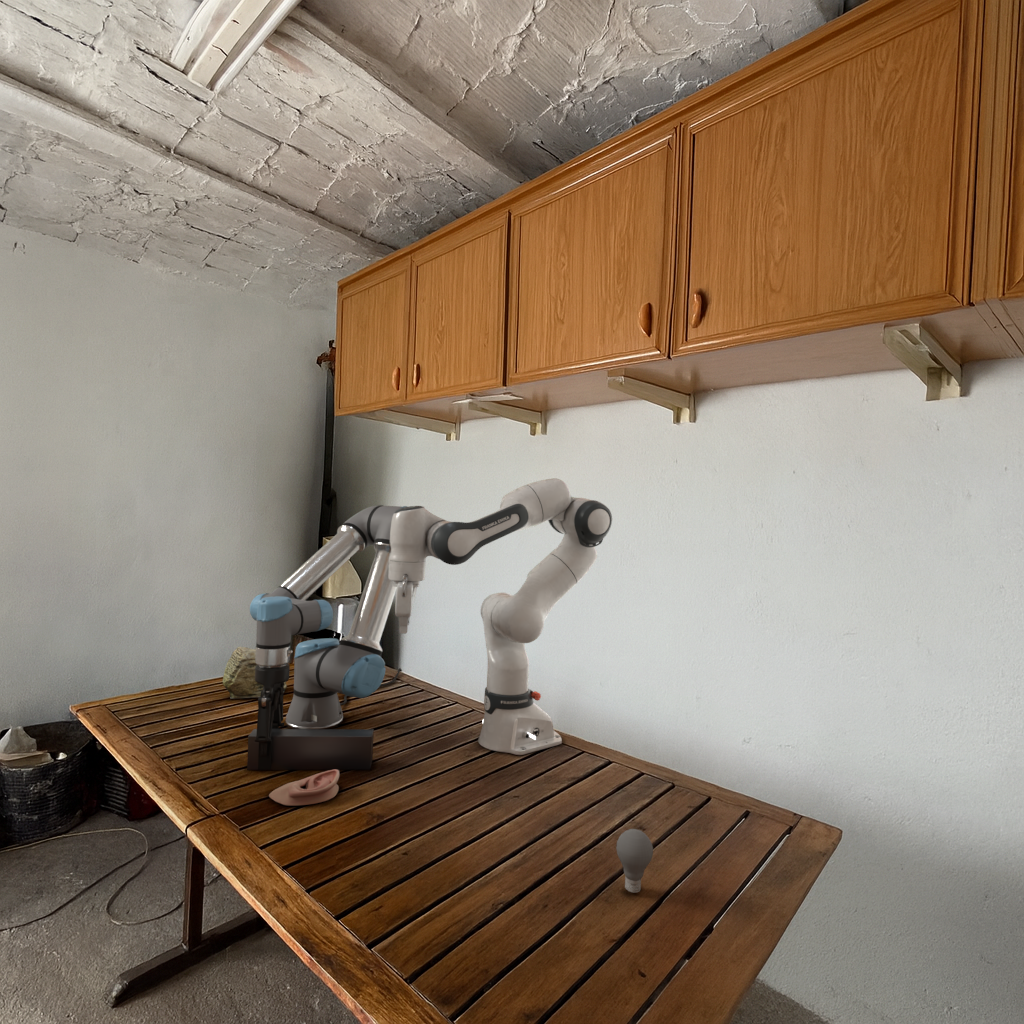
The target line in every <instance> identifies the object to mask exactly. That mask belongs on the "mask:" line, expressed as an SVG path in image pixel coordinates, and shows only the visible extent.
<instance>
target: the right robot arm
mask: <svg viewBox="0 0 1024 1024" xmlns="http://www.w3.org/2000/svg"><path fill="white" fill-rule="evenodd" d="M402 507H403V506H402ZM546 522H548V523H549V525H550V526H551V528H552V529H553V530H554V531H555V532H557V533H559V534H562V535H563V537H562V539H561V541H560V543H559V544H558V546H557V547H556V548H554V549H553V550H552V551H550V552H549V554H547V555H546V556H545V557H544V558H543V559H542V560H541V561H540V562H538V563H537V564H536V565H535V566H534V567H533V568H532V569H531V570H530V571H528V572H527V574H526V575H527V576H526V579H525V581H524V582H523V584H522V585H521V587H520V588H519V589H518V591H517V592H516V593H514V594H511V593H508V592H496V593H495V592H494V593H491V594H489V595H488V596H486V597H485V598H484V599H483V601H482V603H481V605H480V616H481V619H482V623H483V631H484V640H485V648H486V656H487V657H486V659H487V668H486V687H485V688H484V698H483V709H484V715H483V719H482V725H481V730H480V733H479V736H478V739H477V743H478V744H479V745H480V746H481V747H482V748H485V749H487V750H489V751H494V752H500V753H509V754H513V755H517V756H523V755H527V754H530V753H534V752H538V751H541V750H545V749H548V748H552V747H555V746H559V745H561V744H563V739H562V736H561V735H560V734H559V733H558V732H556V730H555V729H554V723H553V719H552V717H551V716H550V715H549V714H548V713H547V712H546V711H545V710H543V709H542V708H541V707H540V706H539V705H537V703H535V702H534V700H535V701H540V699H541V698H542V695H541V693H540V692H538V691H535V690H532V689H530V688H529V675H530V659H529V656H528V653H527V649H526V645H525V644H530V643H533V642H534V641H536V640H537V639H538V638H539V637H540V636H541V634H542V632H543V631H544V625H545V621H546V619H547V618H548V616H549V614H550V613H551V611H552V610H553V609H554V607H555V606H556V604H557V603H558V602H559V601H561V599H562V598H564V597H565V596H566V595H567V594H568V593H569V592H570V590H572V589H573V588H574V587H575V586H576V585H577V584H578V583H579V582H580V581H581V580H582V579H583V578H584V577H585V576H586V574H587V573H588V572H589V571H590V570H591V569H592V567H593V566H594V564H595V563H596V561H597V560H598V559H597V558H598V552H597V549H596V547H597V546H599V545H601V544H602V542H603V540H604V539H605V537H606V536H607V535H608V533H609V532H610V530H611V527H612V524H613V516H612V511H611V510H610V509H609V507H608V506H607V505H605V504H604V503H602V502H601V501H599V500H593V499H590V498H586V497H576V496H572V495H571V491H570V488H569V486H568V485H567V484H566V482H564V481H563V480H562V479H561V478H547V479H541V480H538V481H537V480H536V481H534V482H531V483H527V484H525V485H522V486H519V487H517V488H514V489H513V490H511V491H510V492H508V493H506V494H504V495H503V497H502V499H501V500H500V505H499V509H497V510H496V511H494V512H492V513H489V514H487V515H484V516H482V517H480V518H478V519H476V520H473V521H469V522H463V521H449V520H446V519H444V518H442V517H439V516H437V515H436V514H433V513H432V512H430V511H429V510H427V509H426V508H425V506H423V505H410V506H407V507H403V508H400V509H398V510H396V511H395V512H394V514H393V517H392V521H391V529H390V546H391V554H390V557H389V571H388V579H390V580H393V586H395V587H397V589H396V592H395V607H394V608H395V609H394V614H395V617H397V618H398V624H399V634H401V635H402V634H403V635H404V634H407V633H408V626H409V625H410V620H411V619H410V618H411V616H412V613H413V609H414V605H415V601H416V598H417V597H416V595H417V589H418V588H419V587H420V582H421V581H422V582H423V581H425V580H426V563H427V562H426V559H427V557H433V558H435V559H437V560H440V561H441V562H443V563H445V564H447V565H452V566H457V565H462V564H463V563H466V562H467V561H468V560H470V559H471V558H472V557H473V556H474V555H475V554H476V553H477V552H478V551H479V550H480V549H482V548H483V547H484V546H486V545H488V544H490V543H492V542H494V541H497V540H499V539H501V538H503V537H506V536H507V535H510V534H512V533H516V532H520V531H524V530H528V529H530V528H533V527H536V526H539V525H541V524H544V523H546Z"/></svg>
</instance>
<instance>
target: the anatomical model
mask: <svg viewBox="0 0 1024 1024" xmlns="http://www.w3.org/2000/svg"><path fill="white" fill-rule="evenodd" d="M339 780H340V770H337V769H333V770H324V771H321V772H319V773H316V774H313V775H310V776H307V777H305V778H302V779H299V780H295V781H292V782H288V783H286V784H283V785H281V786H279V787H277V788H275V789H273V791H270V793H269V794H268V797H269V798H270V799H271V800H273V802H275V803H278V804H280V805H283V806H288V807H289V806H290V807H291V806H293V807H295V806H296V807H297V806H306V805H314V804H318V803H322V802H326V801H329V800H331V799H333V798H334V797H335V796H336V795H337V794H338V793H339V789H340V787H339V784H337V783H338V782H339Z"/></svg>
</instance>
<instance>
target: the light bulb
mask: <svg viewBox="0 0 1024 1024" xmlns="http://www.w3.org/2000/svg"><path fill="white" fill-rule="evenodd" d="M615 849H616V854H617V857H618V859H619V861H620V863H621V865H622V867H623V873H624V874H623V875H624V876H625V878H624V888H625V890H627V891H628V892H630V893H634V894H635V893H639V892H640V891H641V889H642V887H641V886H642V879H643V877H644V875H645V871H646V868H647V867H648V866H649V864H650V863H651V861H652V859H653V855H654V847H653V843H652V841H651V838H649V836H648V835H647V834H646V833H645V832H643V831H642V830H641V829H636V828H629V829H627V830H625V831H623V832H622V833H621V834H620V835H619V837H618V839H617V841H616V847H615Z"/></svg>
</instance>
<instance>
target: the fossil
mask: <svg viewBox="0 0 1024 1024" xmlns="http://www.w3.org/2000/svg"><path fill="white" fill-rule="evenodd" d="M255 657H256V648H251V647H247V646H246V647H245V646H238V647H237V648H236V649H235V650H233V651H232V653H231V656H230V657H229V659H228V660H227V663H226V666H225V668H224V671H223V675H222V676H223V677H222V685H223V687H224V688H225V690H226V691H228V693H229V698H230V699H250V698H259V697H260V695H261V691H262V690H263V687H264V686H263V685H262V684H259V683H257V682H256V681H255V667H256V666H257V664H256V663H255ZM287 687H288V686H287V681H286V682H284V690H283V693H285V691H286V689H287Z"/></svg>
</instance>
